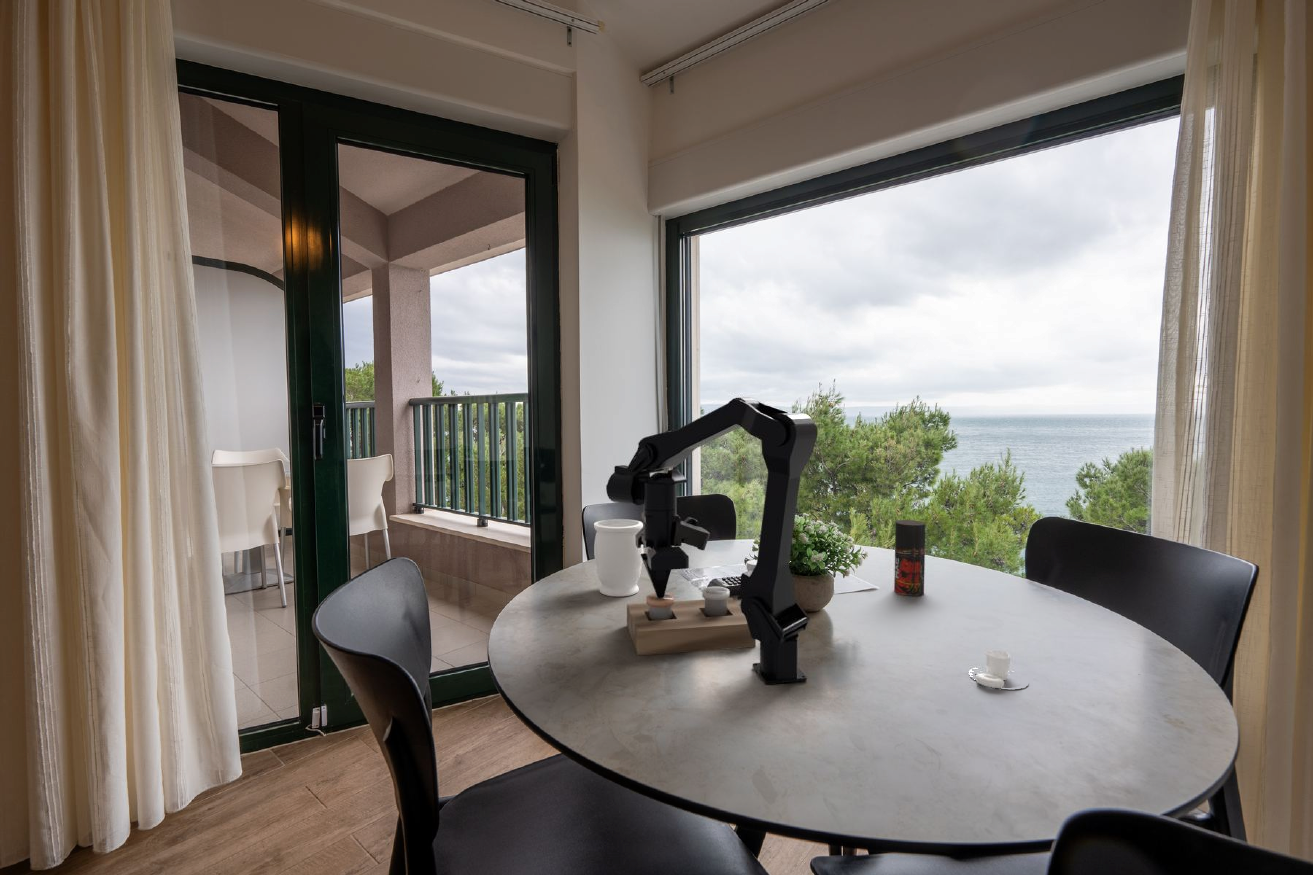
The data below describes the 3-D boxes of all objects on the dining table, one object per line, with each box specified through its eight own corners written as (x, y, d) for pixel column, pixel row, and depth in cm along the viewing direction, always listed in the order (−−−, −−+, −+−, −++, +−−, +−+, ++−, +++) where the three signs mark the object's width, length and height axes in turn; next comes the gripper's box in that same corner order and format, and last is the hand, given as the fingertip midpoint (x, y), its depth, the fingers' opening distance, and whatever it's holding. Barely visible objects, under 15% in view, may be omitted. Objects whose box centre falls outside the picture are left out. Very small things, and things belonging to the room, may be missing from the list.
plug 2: (732, 616, 113) (732, 593, 112) (706, 618, 112) (706, 595, 112) (725, 607, 117) (725, 585, 117) (699, 609, 117) (699, 587, 116)
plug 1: (676, 623, 111) (676, 600, 111) (648, 625, 110) (648, 602, 110) (671, 614, 116) (671, 592, 115) (644, 615, 115) (644, 593, 115)
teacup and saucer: (991, 697, 91) (992, 668, 91) (951, 673, 99) (952, 647, 99) (1042, 689, 93) (1042, 661, 93) (999, 667, 101) (1000, 641, 101)
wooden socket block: (755, 646, 109) (755, 623, 109) (637, 655, 105) (637, 631, 105) (731, 618, 123) (731, 597, 122) (626, 625, 119) (626, 604, 119)
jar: (587, 596, 137) (586, 526, 136) (605, 582, 146) (604, 517, 145) (634, 600, 133) (634, 528, 133) (649, 586, 143) (649, 519, 142)
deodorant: (888, 589, 140) (889, 521, 139) (908, 586, 143) (909, 519, 142) (909, 597, 135) (910, 526, 134) (930, 593, 137) (931, 523, 136)
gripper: (719, 516, 104) (719, 611, 105) (693, 498, 122) (693, 579, 123) (651, 518, 102) (651, 616, 103) (634, 500, 120) (635, 582, 121)
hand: (660, 597), depth 113 cm, fingers closed, pressing on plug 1
